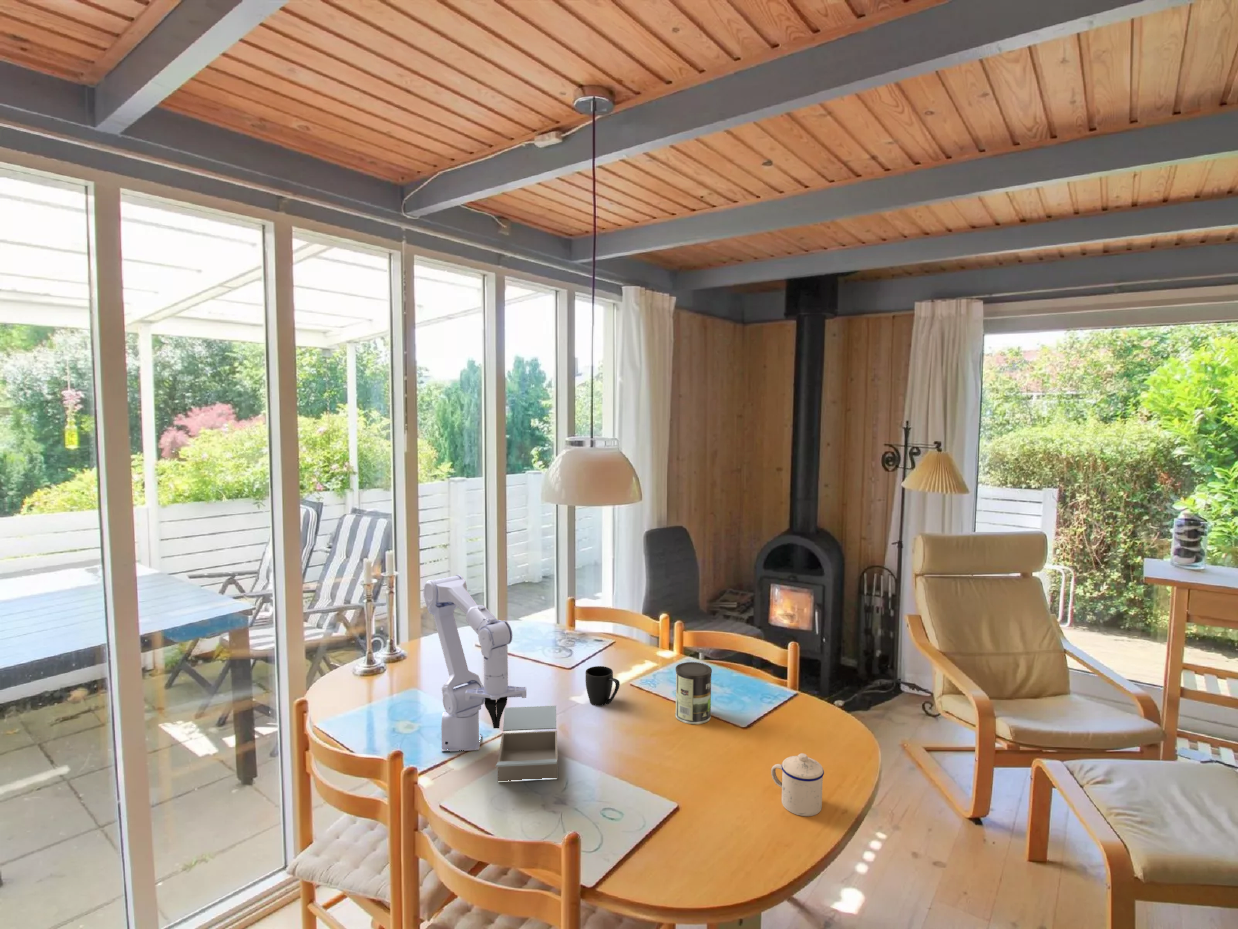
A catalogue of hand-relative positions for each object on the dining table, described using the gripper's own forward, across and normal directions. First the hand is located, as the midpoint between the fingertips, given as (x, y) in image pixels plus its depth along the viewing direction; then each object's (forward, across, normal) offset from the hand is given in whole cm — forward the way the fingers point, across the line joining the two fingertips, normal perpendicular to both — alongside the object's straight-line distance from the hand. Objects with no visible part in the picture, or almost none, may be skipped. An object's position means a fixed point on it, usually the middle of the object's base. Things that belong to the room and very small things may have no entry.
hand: (496, 726), depth 159 cm
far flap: (+3, +8, +11) cm, 14 cm away
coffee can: (+11, +54, +22) cm, 59 cm away
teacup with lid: (+11, +68, -21) cm, 72 cm away
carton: (+10, +8, 0) cm, 13 cm away
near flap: (+4, +8, -11) cm, 14 cm away
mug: (+10, +29, +32) cm, 44 cm away
